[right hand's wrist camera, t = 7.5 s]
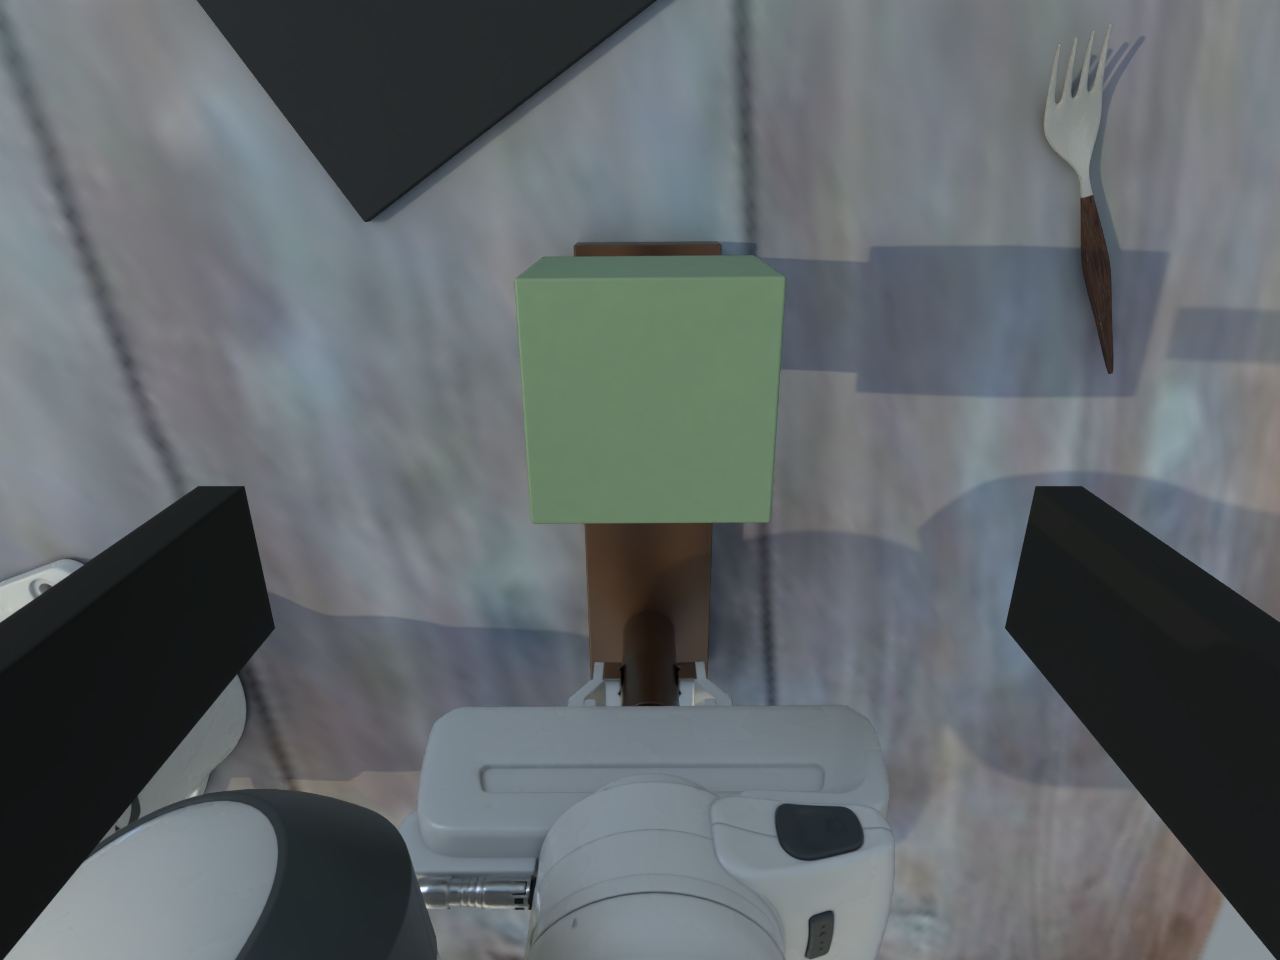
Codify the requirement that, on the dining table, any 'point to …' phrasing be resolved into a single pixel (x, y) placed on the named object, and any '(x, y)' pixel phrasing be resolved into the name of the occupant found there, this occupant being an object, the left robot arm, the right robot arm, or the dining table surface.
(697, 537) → the caddy
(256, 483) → the dining table surface
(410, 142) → the slate mat
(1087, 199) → the fork
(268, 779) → the dining table surface
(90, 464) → the dining table surface
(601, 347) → the sage green cube
